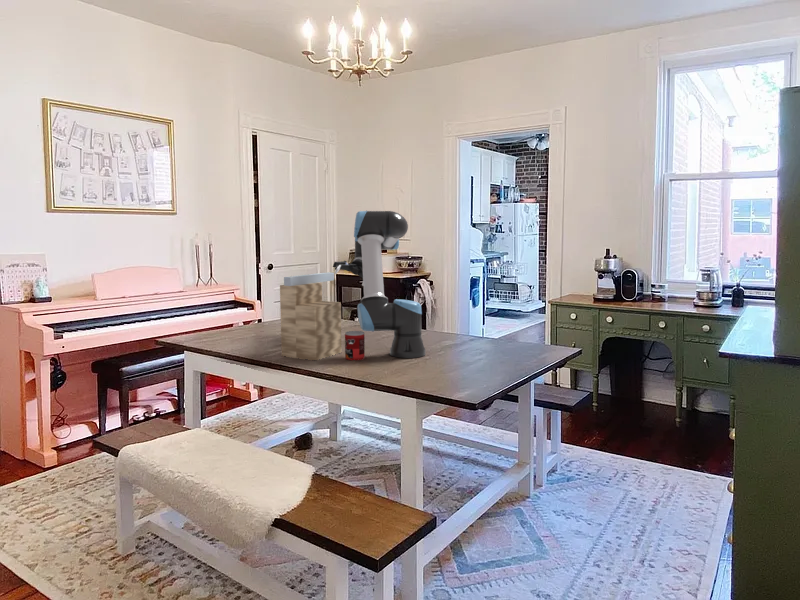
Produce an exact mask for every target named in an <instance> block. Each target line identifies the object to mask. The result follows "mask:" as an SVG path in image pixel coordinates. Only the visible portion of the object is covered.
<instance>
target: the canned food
mask: <svg viewBox="0 0 800 600" xmlns="http://www.w3.org/2000/svg"><path fill="white" fill-rule="evenodd" d="M365 346H366V345H365V331H363V330H349V331H345V332H344V354H345V355H344V356H345V360H347V361H353V360H355V361H363V360H364V359H365V354H366V353H365V351H366V349H365Z"/></svg>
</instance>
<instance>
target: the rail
mask: <svg viewBox="0 0 800 600" xmlns="http://www.w3.org/2000/svg"><path fill="white" fill-rule="evenodd" d="M332 281H335V272H320V273H310V274H300V275H293V276H292V275H291V276H284V277H283V285H284V286H295V285H302V284H310V283H324V282H332Z"/></svg>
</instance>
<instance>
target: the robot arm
mask: <svg viewBox="0 0 800 600" xmlns="http://www.w3.org/2000/svg"><path fill="white" fill-rule="evenodd" d="M408 230H409V224H408V221H407V219H406V218H405V217H404V216H403V215H402V214H400V213H398V212H396V211H392V210H360V211H357V213H356V214H355V220H354V230H353V237H354V259H353V260H352V261H351V263H348V262H347V260H343V261H342V260H341V261H333V265H332V267H333V268H334V270H335V271H334V275H335V274H336V275H337V273H338V272H340V270H341V271H347V272H350V273H352V274H353V275H355V276H357V277H361V279H362V284H361V286H362V287H363V297H362V298H361V299H360V303H358V304H357V309H356V310H357V318H358V322H359V326H360V328H361V331H363V332H372V333H374V332H389V331H391V332H393V339H392V343H391V347H390V348H389V355H390V356H392V357H393V358H402V359H414V358H420V357H421V358H422V357H425V355H426V347H425V345H424V341H423V338H422V315H423V310H422V304H421V303H419V301H418V302H417V301H415V300H408V299H398V298H396V299H394V300H393V302H389V298H388V297H387V296H385V285H384V273H383V272H384V271H383V256H382V255H383V254H382V251H383V250H384V251H385V250H387V251H388V250H390V251H393V250H398V249H399V246H400V239H401V238H403V237H404V236H405V235H406V234H407V232H408Z"/></svg>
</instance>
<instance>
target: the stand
mask: <svg viewBox="0 0 800 600" xmlns="http://www.w3.org/2000/svg"><path fill="white" fill-rule="evenodd" d="M322 285H323V282H318V283H310V284H302V285H295V286H284V284H280V285H279V299H280V300H279V302H280V303H279V304H280V305H279V306H280V309H279V310H280V341H281V342H280V343H281V344H280V345H281V346H280V347H281V357H284V356H286V357H285V358H291V357H292V359H298V358H299V359H300V360H305V359H308V360H307V361H312V360H317V361H320V360H323V359H322V358H324V359H326V358H325V357H327V358H330V357H333V356H335V354H336V355H339V354H338V353H340V354H341V353H342V351H343V350H342V304H341V301H340V302H339V301H326V300H323V286H322ZM332 355H333V356H332ZM329 356H330V357H329ZM299 359H298V360H299ZM319 359H320V360H319Z"/></svg>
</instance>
